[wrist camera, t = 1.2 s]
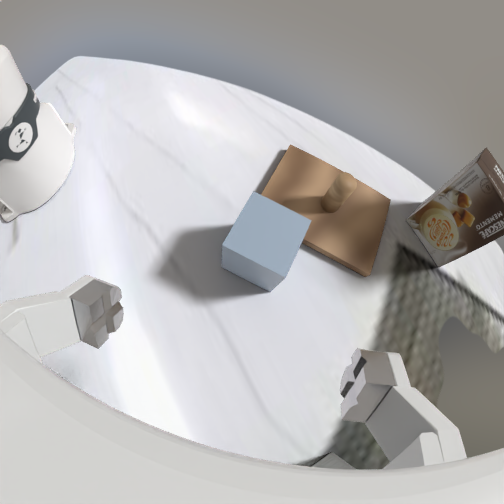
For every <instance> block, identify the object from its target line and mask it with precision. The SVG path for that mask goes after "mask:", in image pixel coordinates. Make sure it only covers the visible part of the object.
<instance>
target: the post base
mask: <svg viewBox="0 0 504 504" xmlns="http://www.w3.org/2000/svg"><path fill="white" fill-rule="evenodd" d="M261 195H262V196H264V197H266V198H268V199H270V200H272V201H274V202H276V203H278V204H280V205H282V206H284V207H286V208H288V209H290V210H292V211H294V212H296V213H298V214H300V215H302V216H304V217H306V218H307V219H309V220H311V223H310V225H309V228H308V230H307V232H306V234H305V236H304V239H303V241H302V243H303V244H305V245H307V246H308V247H310V248H312V249H314V250H316V251H318V252H320V253H322V254H324V255H325V256H327V257H329V258H331V259H333V260H335V261H337V262H339V263H340V264H342V265H344V266H346V267H348V268H350V269H351V270H353V271H355V272H357V273H359V274H361V275H362V276H364V277H366V276H369V275H370V273H371V270H372V267H373V264H374V260H375V257H376V254H377V250H378V247H379V243H380V240H381V236H382V232H383V229H384V225H385V221H386V217H387V213H388V209H389V204H390V199H389V198H387V197H385V196H384V195H382V194H381V193H379V192H377V191H376V190H374V189H372V188H371V187H369V186H367V185H366V184H364V183H362V182H361V181H359V180H357V179H355V178H354V177H353V176H352V175H351V174H349V173H346V172H343V171H341V170H339V169H337V168H336V167H334V166H332V165H330V164H328V163H326V162H324V161H322V160H321V159H319V158H317V157H315V156H313V155H311V154H309V153H307V152H305V151H303V150H301V149H299V148H296V147H294V146H292V145H290V146H289V148H288V149H287V151H286V153H285V154H284V156H283V158H282V159H281V161H280V163H279V165H278V166H277V168H276V170H275V171H274V173H273V175H272V177H271V178H270V180H269V182H268V183H267V185H266V187H265V189H264V190H263V192H262V194H261Z"/></svg>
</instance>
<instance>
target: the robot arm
mask: <svg viewBox="0 0 504 504" xmlns="http://www.w3.org/2000/svg"><path fill="white" fill-rule="evenodd" d="M1 1H2V0H0V2H1ZM76 131H77V128H76V126H75V125H74V124H72V123H64V122H63V121H62V119H61V118H60V116H59V115H58V113H57V112H56V110H55V109H54V107H53V106H52V105H51V104H50V103H40V102H39V100H38V98H37V96H36V93H35V91H34V90H33V89H32V88H31V86H30V85H29V84H28V83H25V82H24V80H23V78H22V76H21V74H20V72H19V70H18V68H17V66H16V64H15V62H14V60H13V58H12V55H11V53H10V51H9V50H8V49H7V48H6V47H5V46H3V45H0V214H1V216H2V218H3V219H4V220H5V221H6V222H9V221H11V220H13V219H14V218H15V217H17V216H18V215H19V214H22V213H25V212H29V211H32V210H35V209H37V208H38V207H40V206H42V205H43V204H44V203H46V202H47V201H48V200H49V199H50V198H51V197H52V196H53V195H54V194H55V193H56V192H57V191H58V190H59V188H60V187H61V186H62V184H63V183H64V181H65V180H66V178H67V176H68V174H69V172H70V170H71V168H72V165H73V162H74V157H75V147H74V138H75V135H76ZM121 298H122V295H121V289H120V288H119V287H118V286H115V285H113V284H110V283H107V282H105V281H102V280H100V279H97V278H95V277H92V276H90V275H85V276H83V277H82V278H80V279H78V280H77V281H75V282H74V283H72V284H71V285H69V286H68V287H66V288H65V289H63V290H62V291H60V292H57V291H55V292H50V293H45V294H39V295H34V296H29V297H24V298H18V299H13V300H8V301H5V302H4V303H2V304H1V305H0V504H504V448H502V449H499V450H495V451H492V452H489V453H486V454H482V455H478V456H474V457H470V458H467V457H466V453H465V450H464V446H463V443H462V439H461V436H460V433H459V429H458V428H457V427H456V426H455V425H454V424H453V423H452V422H450V421H449V420H448V419H447V418H446V417H445V416H444V415H443V414H442V413H441V412H440V411H439V410H438V409H437V408H436V407H435V406H434V405H433V404H432V403H431V402H429V401H428V400H427V399H426V398H425V397H424V396H423V395H422V394H421V393H420V392H419V391H418V390H417V389H416V388H412V387H411V386H410V382H409V379H408V376H407V373H406V370H405V367H404V364H403V361H402V358H401V355H400V354H398V353H391V352H379V351H372V350H365V349H358V348H357V349H356V350H355V352H354V353H353V355H352V357H351V358H352V364H351V365H349V366H348V367H346V369H345V371H344V374H343V376H342V380H341V386H340V394H341V395H342V396H343V397H344V400H343V402H342V403H341V418H342V420H347V421H356V422H366V423H365V424H366V426H367V427H368V429H369V430H370V432H371V433H372V435H373V436H374V438H375V439H376V441H377V443H378V444H379V446H380V447H381V449H382V450H383V452H384V453H385V455H386V456H387V458H388V459H389V461H390V463H389V464H388V465H387V466H385V467H384V468H383V469H374V470H354V469H331V468H318V467H308V466H299V465H292V464H285V463H279V462H273V461H267V460H262V459H257V458H252V457H248V456H244V455H239V454H235V453H231V452H227V451H224V450H220V449H216V448H213V447H210V446H206V445H203V444H200V443H197V442H194V441H191V440H188V439H185V438H182V437H179V436H177V435H174V434H171V433H169V432H166V431H164V430H161V429H159V428H156V427H154V426H151V425H149V424H147V423H144V422H142V421H140V420H138V419H135V418H133V417H131V416H129V415H127V414H125V413H123V412H121V411H119V410H117V409H115V408H113V407H111V406H109V405H107V404H105V403H103V402H102V401H100V400H98V399H96V398H94V397H93V396H91V395H89V394H88V393H86V392H84V391H82V390H81V389H79V388H78V387H76V386H74V385H73V384H71V383H70V382H68V381H66V380H65V379H63V378H62V377H60V376H59V375H57V374H56V373H55V372H53V371H52V370H50V369H49V368H47V367H46V366H45V365H43V363H42V360H41V357H43V356H46V355H49V354H51V353H54V352H56V351H59V350H61V349H64V348H66V347H69V346H71V345H74V344H76V343H79V342H81V341H83V342H85V343H87V344H89V345H91V346H93V347H95V348H97V349H99V348H100V347H101V345H102V344H103V343H104V342H105V341H106V340H107V339H108V337H109V333H112V332H115V331H116V330H117V329H118V328H119V327H120V325H121V323H122V320H123V307H122V306H121V304H120V302H119V301H120V300H121Z"/></svg>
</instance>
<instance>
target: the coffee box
mask: <svg viewBox="0 0 504 504" xmlns="http://www.w3.org/2000/svg"><path fill="white" fill-rule="evenodd" d="M406 221H407V222H408V224H409V225H410V226H411V228H412V229H413V230H414V232H415V233H416V235H417V236H418V238H419V239H420V240H421V242H422V243H423V245H424V246H425V248H426V249H427V251H428V252H429V254H430V255H431V257H432V258H433V260H434V261H435V263H436V265H437V266H438V267H441V266H443V265H445V264H447V263H449V262H452V261H454V260H456V259H458V258H460V257H462V256H464V255H466V254H468V253H470V252H472V251H474V250H476V249H478V248H480V247H482V246H484V245H486V244H488V243H490V242H492V241H494V240H496V239H497V238H499V237H501V236H503V235H504V172H503V170H502V169H501V168H500V166H499V164H498V163H497V162H496V160H495V159H494V157H493V156H492V155H491V153H490V152H489V150H488V149H487V148H485V149H484V150H483V151H482V152H481V153H480V154H479V155H478V156H476V157H475V158H474V159H473V160H472V161H471V162H470V163H469V164H468V165H466V166H465V167H464V168H463V169H462V170H461V171H460V172H459V173H458V174H456V175H455V176H454V177H453V178H451V179H450V180H449V181H448V182H447V183H445V184H444V185H443V186H442V187H441V188H439V189H438V190H437V191H436V192H435V193H434V194H432V195H431V196H430V197H429V198H427V199H426V200H425V201H424V202H422V203H421V204H420V205H419V207H418V208H417V209H416V210H415V211H414V212H413V213H412V214H411V215H410V216H409V217H408V218H407V219H406Z"/></svg>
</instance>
